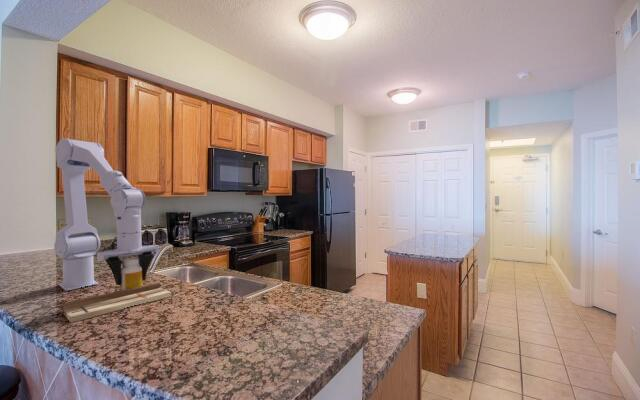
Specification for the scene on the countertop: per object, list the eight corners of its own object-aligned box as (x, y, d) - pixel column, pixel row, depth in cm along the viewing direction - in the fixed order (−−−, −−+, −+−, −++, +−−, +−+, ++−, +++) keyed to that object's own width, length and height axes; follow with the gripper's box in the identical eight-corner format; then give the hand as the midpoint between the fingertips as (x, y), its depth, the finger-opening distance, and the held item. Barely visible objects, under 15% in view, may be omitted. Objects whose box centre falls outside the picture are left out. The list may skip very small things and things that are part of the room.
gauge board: (63, 313, 70) (62, 303, 70) (158, 290, 86) (158, 282, 86) (71, 322, 65) (70, 311, 65) (170, 296, 81) (170, 287, 81)
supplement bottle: (147, 291, 86) (146, 257, 85) (132, 297, 80) (131, 261, 80) (130, 290, 87) (129, 256, 86) (114, 297, 81) (113, 261, 81)
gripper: (102, 237, 75) (103, 291, 75) (163, 230, 86) (164, 278, 86) (94, 234, 80) (95, 286, 80) (152, 229, 91) (154, 274, 91)
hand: (130, 281), depth 84 cm, fingers closed on supplement bottle, 5 cm apart
